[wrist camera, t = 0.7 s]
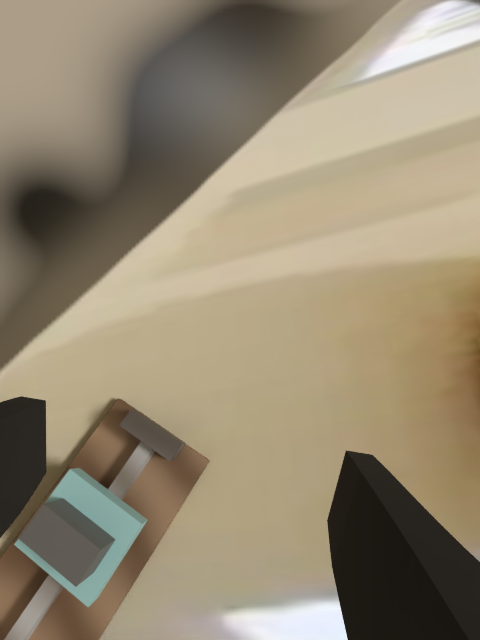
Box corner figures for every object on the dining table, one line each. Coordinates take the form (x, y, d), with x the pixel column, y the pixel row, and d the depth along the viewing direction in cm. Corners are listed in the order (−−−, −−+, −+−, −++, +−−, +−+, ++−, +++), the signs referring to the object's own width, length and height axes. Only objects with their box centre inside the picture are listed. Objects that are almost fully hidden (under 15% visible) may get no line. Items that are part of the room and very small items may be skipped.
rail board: (-48, 875, 24) (-102, 954, 20) (-146, 763, 26) (-212, 816, 22) (210, 459, 32) (206, 460, 29) (122, 398, 34) (108, 392, 31)
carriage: (98, 597, 27) (68, 627, 22) (27, 539, 28) (-14, 555, 23) (147, 519, 28) (130, 532, 24) (79, 467, 30) (50, 470, 25)
